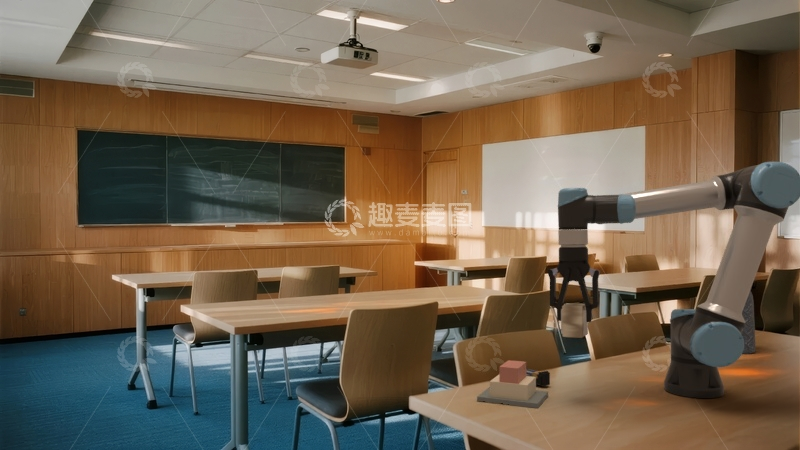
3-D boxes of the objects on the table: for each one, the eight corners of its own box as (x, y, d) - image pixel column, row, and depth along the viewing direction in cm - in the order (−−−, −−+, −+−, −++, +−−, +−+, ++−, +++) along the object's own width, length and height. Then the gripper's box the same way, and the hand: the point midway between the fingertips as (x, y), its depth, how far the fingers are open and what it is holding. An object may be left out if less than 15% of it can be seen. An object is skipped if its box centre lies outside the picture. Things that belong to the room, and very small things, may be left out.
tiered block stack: (548, 396, 172) (548, 362, 172) (537, 408, 160) (537, 372, 160) (491, 389, 179) (491, 357, 179) (477, 401, 167) (477, 366, 167)
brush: (515, 362, 195) (553, 371, 183) (515, 376, 195) (553, 386, 183) (502, 364, 192) (540, 373, 179) (502, 379, 192) (540, 389, 179)
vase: (762, 354, 229) (762, 276, 229) (728, 354, 229) (728, 276, 229) (744, 348, 241) (744, 273, 241) (712, 348, 241) (712, 273, 241)
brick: (586, 333, 170) (585, 303, 170) (582, 337, 164) (581, 306, 164) (567, 332, 172) (566, 303, 172) (562, 336, 166) (562, 306, 166)
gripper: (610, 245, 168) (611, 333, 168) (542, 245, 175) (543, 329, 175) (607, 246, 161) (608, 338, 161) (536, 246, 168) (537, 334, 168)
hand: (574, 333), depth 168 cm, fingers closed on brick, 5 cm apart
